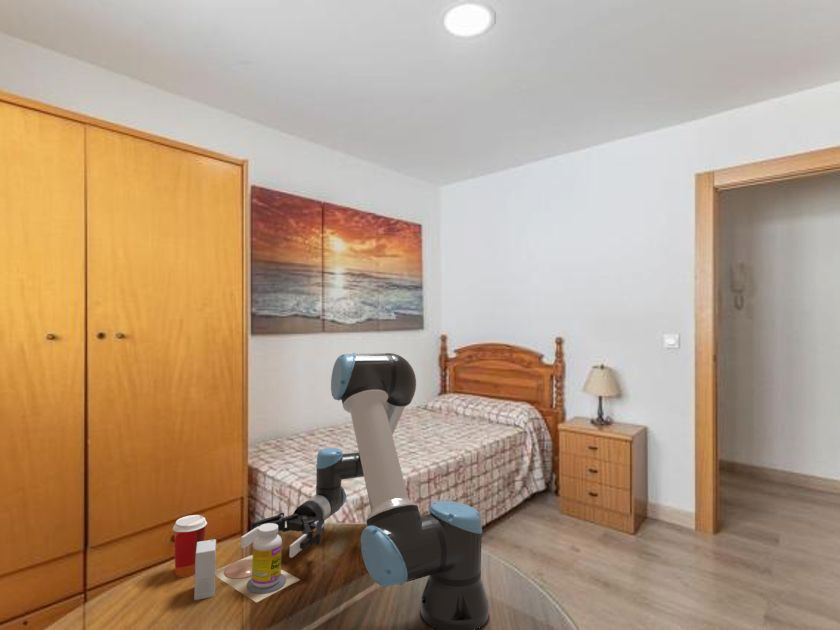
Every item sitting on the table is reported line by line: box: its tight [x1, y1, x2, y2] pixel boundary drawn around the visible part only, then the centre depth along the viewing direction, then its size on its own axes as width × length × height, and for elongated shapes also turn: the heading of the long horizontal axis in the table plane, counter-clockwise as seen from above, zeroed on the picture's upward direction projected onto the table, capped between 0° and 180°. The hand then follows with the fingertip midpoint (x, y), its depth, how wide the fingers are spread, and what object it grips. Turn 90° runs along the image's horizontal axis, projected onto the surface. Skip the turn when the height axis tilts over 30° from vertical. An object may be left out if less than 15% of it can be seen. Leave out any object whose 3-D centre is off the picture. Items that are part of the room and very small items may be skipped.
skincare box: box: [193, 539, 217, 601], centre depth 105 cm, size 6×4×12 cm
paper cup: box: [172, 514, 208, 578], centre depth 114 cm, size 8×8×14 cm
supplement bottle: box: [252, 523, 283, 588], centre depth 109 cm, size 7×7×13 cm
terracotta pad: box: [224, 559, 252, 579], centre depth 115 cm, size 9×9×1 cm
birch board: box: [215, 554, 301, 604], centre depth 111 cm, size 20×12×2 cm, turn 53°
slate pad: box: [247, 574, 286, 594], centre depth 108 cm, size 9×9×1 cm
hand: (266, 547), depth 108 cm, fingers open, 13 cm apart
